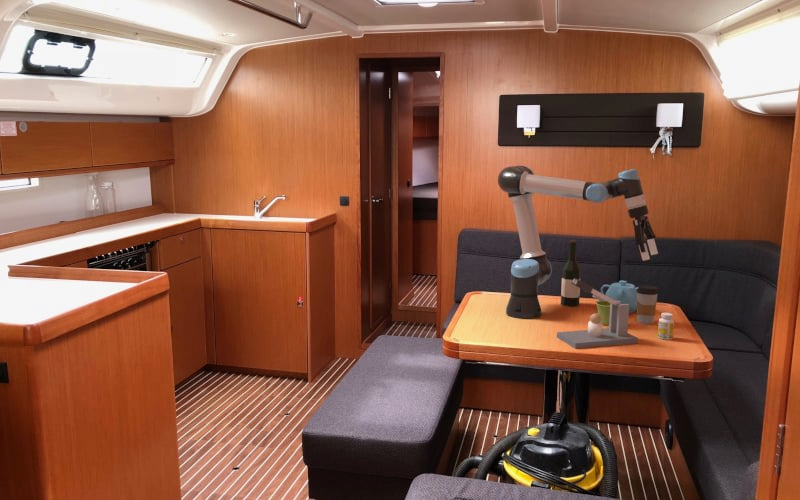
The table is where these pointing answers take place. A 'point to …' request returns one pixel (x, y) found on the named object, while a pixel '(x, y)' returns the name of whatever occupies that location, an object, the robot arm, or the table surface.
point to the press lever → (593, 292)
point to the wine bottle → (570, 278)
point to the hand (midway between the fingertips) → (650, 257)
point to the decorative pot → (623, 294)
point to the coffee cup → (646, 303)
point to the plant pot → (604, 311)
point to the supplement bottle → (666, 326)
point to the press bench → (602, 330)
